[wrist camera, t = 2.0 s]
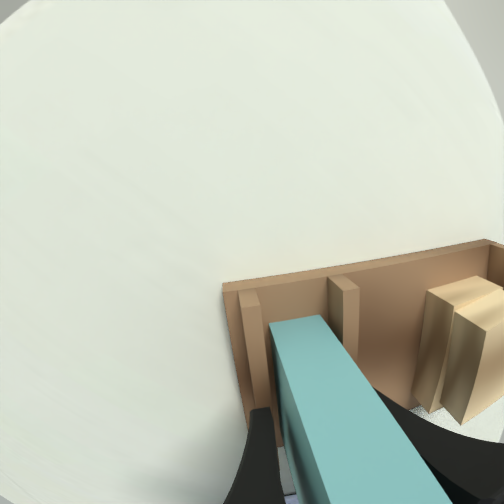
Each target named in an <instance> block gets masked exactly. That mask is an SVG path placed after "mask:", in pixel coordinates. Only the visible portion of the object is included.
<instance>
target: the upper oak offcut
mask: <svg viewBox="0 0 504 504" xmlns="http://www.w3.org/2000/svg"><path fill="white" fill-rule="evenodd" d="M503 395H504V290H502V289H500V288H499V289H498V290H496V291H494V292H492V293H490V294H488V295H486V296H484V297H483V298H481V299H479V300H477V301H475V302H473V303H471V304H469V305H467V306H465V307H463V308H460V309H458V310H456V311H455V313H454V323H453V332H452V339H451V347H450V353H449V359H448V365H447V370H446V376H445V381H444V385H443V390H442V394H441V399H440V403H441V404H442V405H443V407H444V408H445V409H446V410H447V411H448V412H449V413H450V414H451V415H452V416H453V418H454V419H455V420H456V421H457V422H458V423H459V424H460V425H463V424H464V423H466V422H467V421H469V420H470V419H472V418H473V417H475V416H476V415H478V414H479V413H481V412H482V411H483V410H485V409H486V408H488V407H489V406H490V405H492V404H493V403H494V402H496V401H497V400H498V399H500V398H501V397H502V396H503Z"/></svg>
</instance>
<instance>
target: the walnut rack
mask: <svg viewBox="0 0 504 504" xmlns="http://www.w3.org/2000/svg"><path fill="white" fill-rule="evenodd" d="M474 276H479V277H481V278H483V279H485V280H488V281H490V282H492V283H494V284H496V285H499V286H501V287H503V290H504V245H502V244H499V243H497V242H494V241H490V240H487V239H482V240H477V241H472V242H467V243H462V244H457V245H452V246H446V247H441V248H436V249H431V250H425V251H420V252H415V253H409V254H404V255H398V256H393V257H387V258H381V259H375V260H370V261H364V262H358V263H352V264H346V265H340V266H334V267H328V268H321V269H315V270H309V271H302V272H296V273H289V274H283V275H276V276H269V277H263V278H256V279H249V280H242V281H235V282H228V283H223V297H224V303H225V309H226V315H227V321H228V327H229V333H230V338H231V344H232V350H233V355H234V361H235V366H236V372H237V377H238V382H239V387H240V393H241V398H242V403H243V408H244V413H245V418H246V423H247V428H248V430H249V422H250V411H251V410H252V409H258V408H264V407H270V410H271V413H272V417H273V421H274V429H275V437H276V445H277V447H283V446H284V444H283V440H282V436H281V432H280V426H279V416H278V406H277V397H276V387H275V378H274V368H273V359H272V350H271V340H270V331H269V323H274V322H280V321H286V320H292V319H297V318H303V317H308V316H314V315H319V314H320V315H321V317H322V318H323V320H324V321H325V322H326V324H327V325H328V326H329V328H330V329H331V330H332V332H333V333H334V335H335V336H336V337H337V339H338V340H339V341H340V343H341V344H342V346H343V347H344V348H345V350H346V351H347V353H348V354H349V355H350V357H351V358H352V359H353V361H354V362H355V364H356V365H357V366H358V368H359V369H360V371H361V372H362V373H363V375H364V376H365V378H366V379H367V380H368V382H369V383H370V385H371V386H372V387H374V388H375V389H377V390H378V391H380V392H381V393H383V394H384V395H385V396H387V397H388V398H390V399H391V400H393V401H394V402H396V403H397V404H399V405H401V406H402V407H404V408H405V409H407V410H410V409H413V408H415V407H417V406H420V405H421V404H420V403H419V402H418V400H417V399H416V398H415V397H414V396H413V395H412V393H411V389H412V384H413V380H414V375H415V370H416V365H417V360H418V354H419V348H420V342H421V336H422V329H423V321H424V313H425V304H426V293H427V290H428V289H432V288H436V287H439V286H443V285H447V284H450V283H453V282H457V281H460V280H464V279H467V278H470V277H474ZM277 454H278V450H277ZM278 462H279V458H278ZM279 471H280V467H279Z"/></svg>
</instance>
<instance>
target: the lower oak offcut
mask: <svg viewBox="0 0 504 504" xmlns="http://www.w3.org/2000/svg"><path fill="white" fill-rule="evenodd" d="M499 288H500V289H502V290H503V287H501V286H499V285H496V284H494V283H492V282H490V281H488V280H485V279H483V278H481V277H479V276H474V277H470V278H467V279H464V280H460V281H457V282H453V283H450V284H447V285H443V286H439V287H436V288H432V289H428V290H427V293H426V304H425V313H424V321H423V329H422V336H421V342H420V348H419V354H418V360H417V365H416V370H415V375H414V380H413V384H412V389H411V393H412V395H413V396H414V397H415V398H416V399H417V400H418V402H419V403H420V404H421V405H422V406H423V408H424V409H425V410H426V411H427V412H428V414H430V413H432V412H434V411H436V410H438V409H441V408H443V405H442V404H441V403H440V399H441V394H442V390H443V385H444V381H445V376H446V370H447V365H448V359H449V353H450V347H451V339H452V332H453V323H454V313H455V311H456V310H458V309H460V308H463V307H465V306H467V305H469V304H471V303H473V302H475V301H477V300H479V299H481V298H483V297H484V296H486V295H488V294H490V293H492V292H494V291H496V290H498V289H499Z"/></svg>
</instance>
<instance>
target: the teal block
mask: <svg viewBox="0 0 504 504" xmlns="http://www.w3.org/2000/svg"><path fill="white" fill-rule="evenodd" d="M269 331H270V340H271V350H272V359H273V368H274V378H275V387H276V397H277V406H278V416H279V426H280V432H281V436H282V440H283V444H284V447H285V451H286V455H287V459H288V463H289V467H290V471H291V475H292V479H293V482H294V486H295V490H296V494H297V498H298V501H299V504H452V502H451V501H450V499H449V498H448V496H447V495H446V493H445V492H444V490H443V489H442V487H441V486H440V484H439V483H438V481H437V480H436V478H435V477H434V475H433V474H432V472H431V471H430V469H429V468H428V466H427V465H426V463H425V462H424V460H423V459H422V458H421V456H420V455H419V453H418V452H417V450H416V449H415V447H414V446H413V444H412V443H411V442H410V440H409V439H408V437H407V436H406V434H405V433H404V431H403V430H402V429H401V427H400V426H399V424H398V423H397V421H396V420H395V419H394V417H393V416H392V414H391V413H390V411H389V410H388V409H387V407H386V406H385V404H384V403H383V402H382V400H381V399H380V397H379V396H378V394H377V393H376V392H375V390H374V389H373V387H372V386H371V385H370V383H369V382H368V380H367V379H366V378H365V376H364V375H363V373H362V372H361V371H360V369H359V368H358V366H357V365H356V364H355V362H354V361H353V359H352V358H351V357H350V355H349V354H348V353H347V351H346V350H345V348H344V347H343V346H342V344H341V343H340V341H339V340H338V339H337V337H336V336H335V335H334V333H333V332H332V330H331V329H330V328H329V326H328V325H327V324H326V322H325V321H324V320H323V318H322V317H321V315H320V314H319V315H314V316H308V317H303V318H297V319H292V320H286V321H280V322H274V323H269Z"/></svg>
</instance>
